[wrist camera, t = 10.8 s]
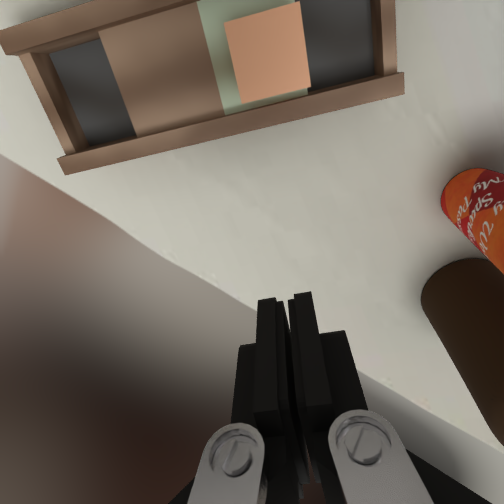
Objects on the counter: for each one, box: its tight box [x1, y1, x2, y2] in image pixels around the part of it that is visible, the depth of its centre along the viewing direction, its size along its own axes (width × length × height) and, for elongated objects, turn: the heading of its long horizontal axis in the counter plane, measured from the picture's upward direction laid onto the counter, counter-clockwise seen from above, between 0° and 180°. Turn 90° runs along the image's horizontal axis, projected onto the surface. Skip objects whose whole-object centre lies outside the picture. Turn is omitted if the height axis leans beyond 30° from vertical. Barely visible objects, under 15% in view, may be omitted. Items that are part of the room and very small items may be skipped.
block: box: [224, 1, 311, 104], centre depth 25 cm, size 5×5×4 cm
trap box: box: [0, 0, 405, 175], centre depth 27 cm, size 11×29×4 cm, turn 103°
